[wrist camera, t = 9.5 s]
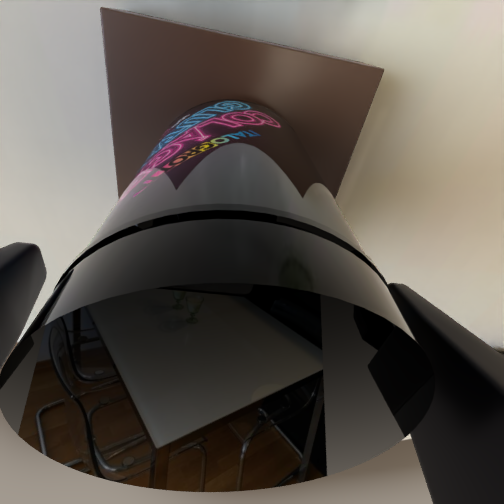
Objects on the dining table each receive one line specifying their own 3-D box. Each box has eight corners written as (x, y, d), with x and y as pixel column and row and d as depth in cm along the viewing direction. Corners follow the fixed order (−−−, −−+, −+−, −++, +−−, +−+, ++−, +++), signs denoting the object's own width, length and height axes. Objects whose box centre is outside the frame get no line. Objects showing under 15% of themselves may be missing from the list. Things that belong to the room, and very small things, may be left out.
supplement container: (313, 87, 11) (534, 260, 3) (303, 235, 15) (383, 482, 7) (135, 98, 11) (-151, 304, 3) (172, 243, 15) (98, 501, 7)
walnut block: (299, 246, 19) (307, 271, 17) (136, 226, 17) (123, 251, 15) (362, 62, 13) (385, 69, 11) (122, 9, 12) (99, 6, 10)
